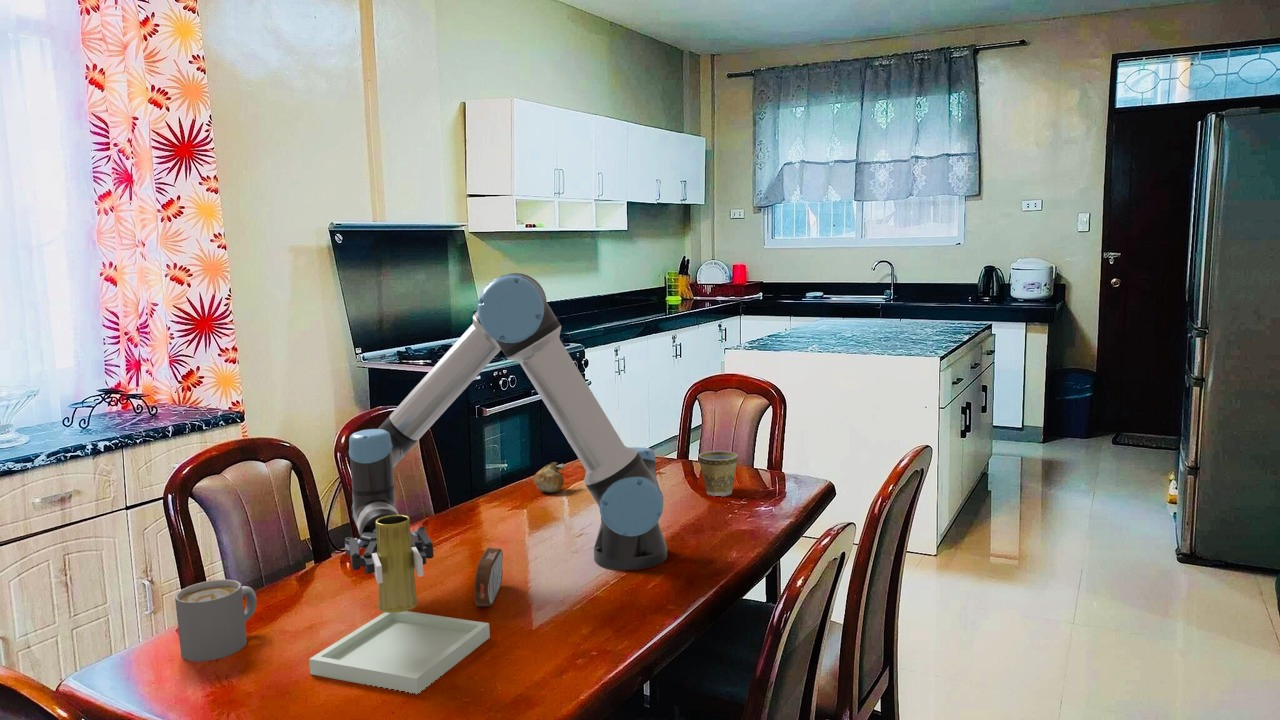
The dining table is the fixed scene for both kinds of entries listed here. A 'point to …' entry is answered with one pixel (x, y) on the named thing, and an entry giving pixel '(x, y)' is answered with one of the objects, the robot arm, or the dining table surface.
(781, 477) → the dining table surface
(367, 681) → the tray
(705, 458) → the ceramic cup
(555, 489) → the onion
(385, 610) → the vase
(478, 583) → the tin
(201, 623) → the coffee mug
